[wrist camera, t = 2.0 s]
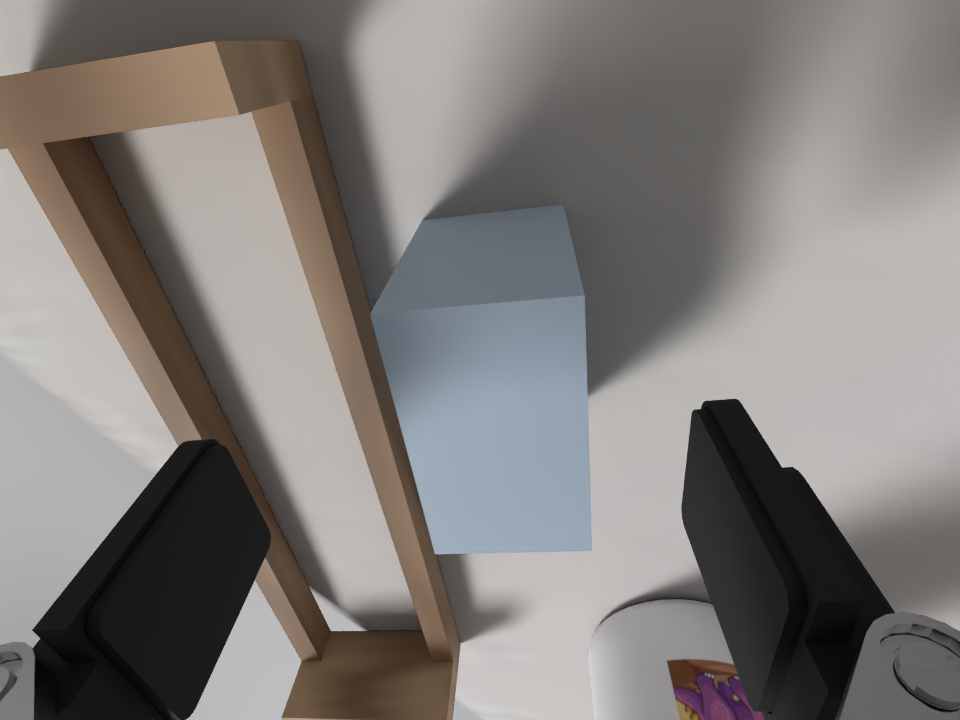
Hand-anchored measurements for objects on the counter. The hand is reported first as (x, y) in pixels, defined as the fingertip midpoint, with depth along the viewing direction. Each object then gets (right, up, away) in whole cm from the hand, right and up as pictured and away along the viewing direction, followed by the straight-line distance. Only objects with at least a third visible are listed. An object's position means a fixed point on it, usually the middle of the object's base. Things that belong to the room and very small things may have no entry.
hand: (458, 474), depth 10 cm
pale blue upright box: (+1, +4, +6) cm, 7 cm away
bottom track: (-6, -1, +9) cm, 11 cm away
